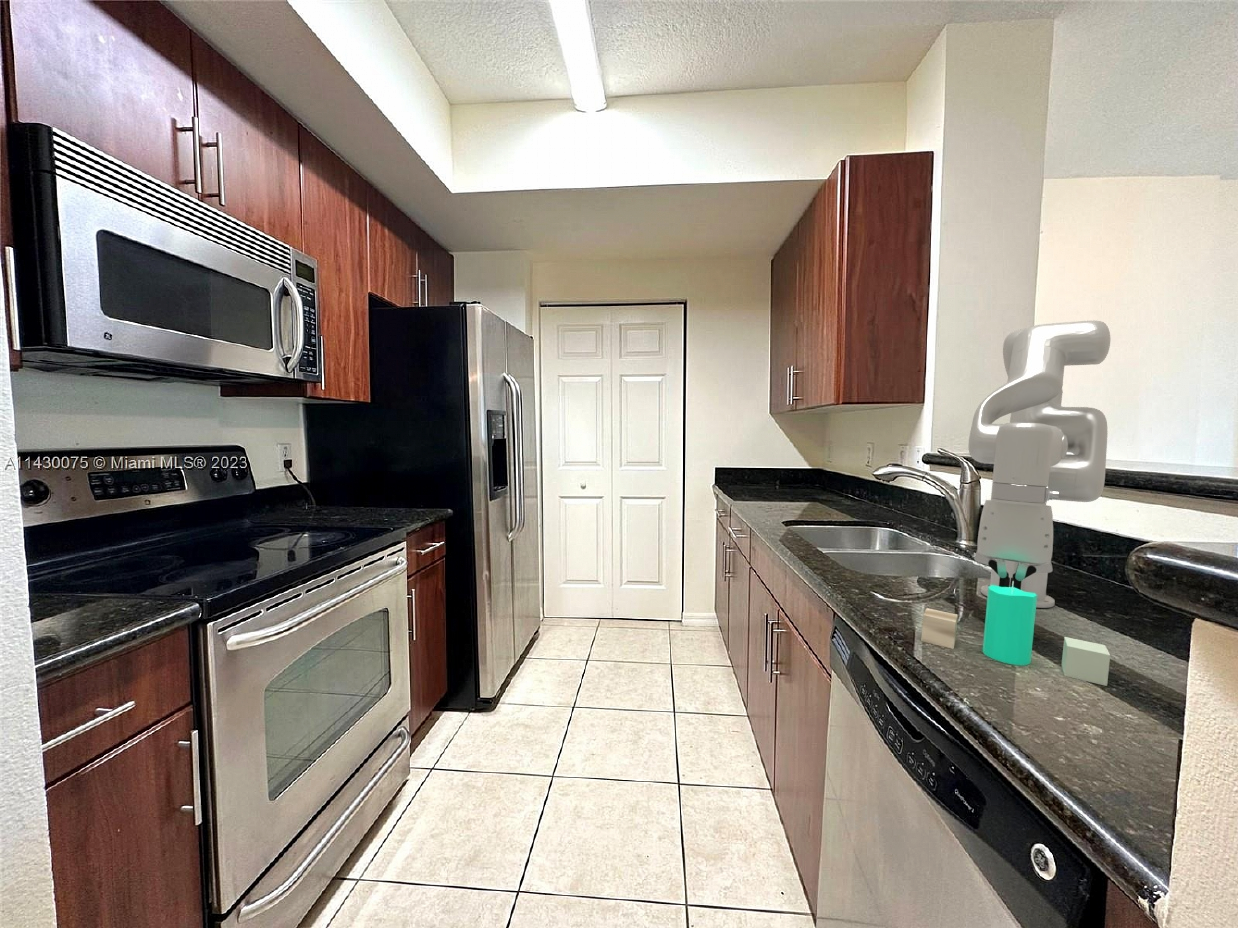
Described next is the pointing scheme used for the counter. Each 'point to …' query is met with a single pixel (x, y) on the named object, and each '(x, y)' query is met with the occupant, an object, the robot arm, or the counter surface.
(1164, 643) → the counter surface
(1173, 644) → the counter surface
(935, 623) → the birch block
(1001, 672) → the counter surface
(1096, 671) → the sage block
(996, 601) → the candle
